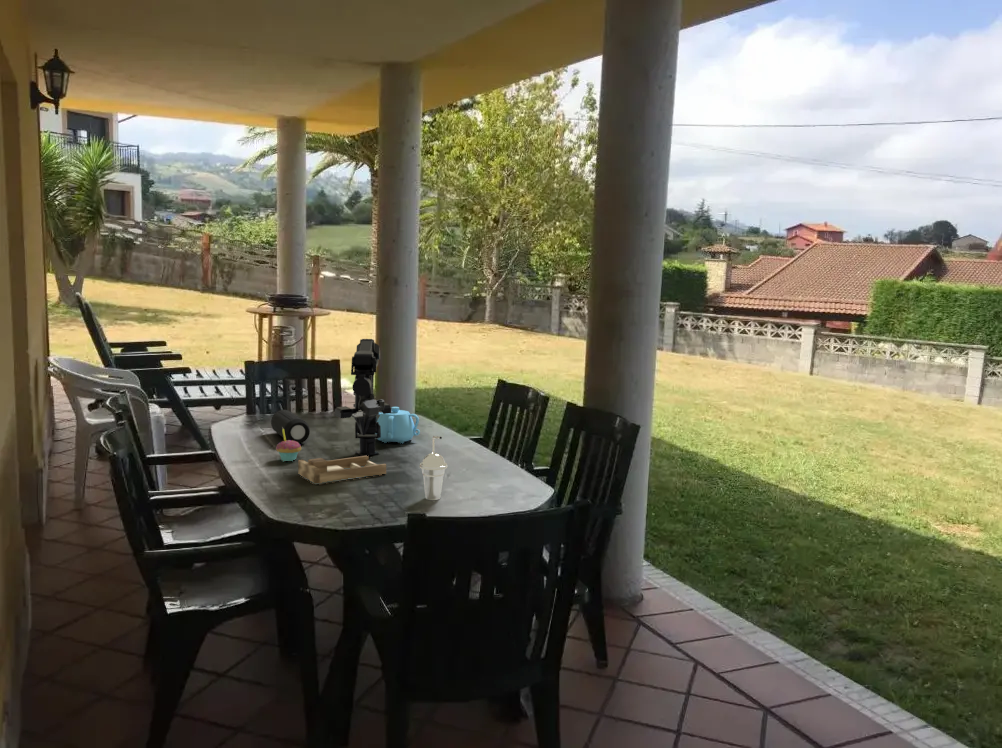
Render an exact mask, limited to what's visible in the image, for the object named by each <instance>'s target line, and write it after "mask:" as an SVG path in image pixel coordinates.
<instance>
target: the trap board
mask: <svg viewBox="0 0 1002 748" xmlns="http://www.w3.org/2000/svg"><path fill="white" fill-rule="evenodd" d="M369 456H370V455H368V456H362V455H360V456H354V457H353V456H352V457H345V458H338V459H331V460H329V459H328V460H326V461H327V472H321V473H320V469H319V468H317V467H315V466H313V465H312V464H310V463H308V461H306V460H305V459H298V461H297V463H298V464H297V465H298V466H297V467H298V468H297V472H298V473H297V474H300V475H301V476H303V477H305V478H307V479H309V480H310V481H312V482H314V483H322V482H327V481H333V480H341V479H348V478H356V477H364V476H373V475H379V476H383V475H382V474H386V475H387V464H386V463H380V464H377V463H375V462H373V461H371V460H369V459H370V458H369ZM365 465H366V466H365ZM361 466H364V467H361ZM344 468H350V469H344ZM301 476H300V477H301ZM303 477H302V478H303ZM373 477H374V476H373Z"/></svg>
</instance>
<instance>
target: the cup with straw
mask: <svg viewBox="0 0 1002 748" xmlns="http://www.w3.org/2000/svg"><path fill="white" fill-rule="evenodd" d="M442 438H443V437H442V436H436V435H433V436H432V438H431V441H432V442H431V453H428V454H426V455H425V456H424V457H423V458H422V461H421V462H420V463H419V465H418V466H419V468H420V469H421V473H422V476H423V484H424V485H423V488H424V494H425V499H426V500H429V501H438V500H440V499H441V495H442V490H443V489H442V488H443V480H444V475H445V472H446V469H447V468H448V463H447V462H446V461H445V459H444V457H443V455H441V454H439V453H437V452H435V445H436V443H435V441H436V439H438V440H442Z"/></svg>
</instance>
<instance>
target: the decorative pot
mask: <svg viewBox="0 0 1002 748" xmlns="http://www.w3.org/2000/svg"><path fill="white" fill-rule="evenodd" d="M391 408H392V413H388V414H383V413H382V412H381V411H379V414H378V415H377V416H379V417H377V422H379V425H380V426H381V437H380V438H376V439H377V440H378V441H380V442H381V443H382V442H384V443H383V444H387V442H388V443H391V442H393V443H396V442H397V444H398V443H400V444H401V443H402V444H403V443H404V444H405V442H409V441H410V440H412V439H413V437H414V436H417V437H418V436H419V435H420V433H421V430H420V429H418V426H419V423H420V418H419V416H418V415H417V414H416V413H410V411H408V410H403V409H400V407H399V406H391ZM413 417H414V418H415V423H414V419H413ZM416 431H417V432H416ZM375 434H377V433H375ZM402 444H401V445H402Z"/></svg>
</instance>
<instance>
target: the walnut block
mask: <svg viewBox="0 0 1002 748" xmlns="http://www.w3.org/2000/svg"><path fill="white" fill-rule="evenodd" d="M327 461H328V460H326V459H324V458H322V457H318V458H311V459H307V462H308V463H310V464H312V465H313V466H315V467H317V468H319V469H320V473H321V472H327Z"/></svg>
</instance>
